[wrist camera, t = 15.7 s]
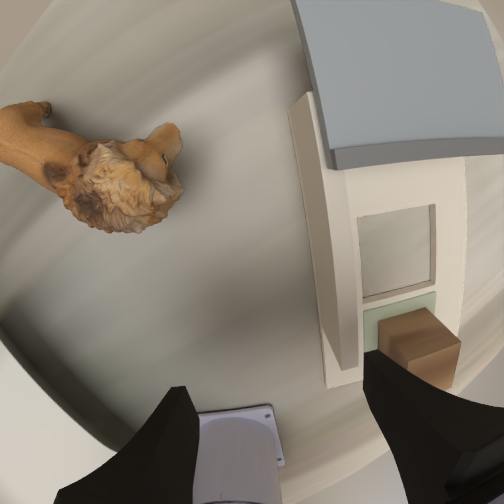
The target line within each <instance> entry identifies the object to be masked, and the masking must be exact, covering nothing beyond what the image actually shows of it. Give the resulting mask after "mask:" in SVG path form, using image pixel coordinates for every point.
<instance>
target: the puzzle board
mask: <svg viewBox="0 0 504 504" xmlns="http://www.w3.org/2000/svg"><path fill="white" fill-rule="evenodd" d="M287 113H288V118H289V123H290V128H291V133H292V138H293V144H294V149H295V155H296V160H297V166H298V172H299V178H300V184H301V190H302V196H303V202H304V208H305V215H306V221H307V228H308V235H309V242H310V249H311V257H312V264H313V272H314V280H315V288H316V296H317V305H318V314H319V323H320V333H321V343H322V354H323V365H324V378H325V385H326V387H327V389H330V388H334V387H338V386H342V385H346V384H350V383H354V382H357V381H361V380H363V353H365V352H368V351H372V350H376V349H377V348H378V321H379V320H383V319H386V318H390V317H393V316H397V315H400V314H404V313H407V312H410V311H414V310H417V309H420V308H424V307H426V308H427V309H428V310H429V311H430V312H431V313H432V314H433V315H434V316H435V317H436V318H437V319H439V320H440V321H441V322H442V323H443V324H444V325H445V326H446V327H447V328H448V329H449V330H450V331H451V332H452V333H453V334H454V335H455V336H456V337H457V335H458V329H459V323H460V316H461V308H462V300H463V290H464V280H465V266H466V246H467V199H466V179H465V165H464V157H451V158H439V159H429V160H419V161H409V162H400V163H391V164H383V165H375V166H367V167H360V168H353V169H346V170H339V171H337V170H332V169H328V168H327V162H326V156H325V150H324V144H323V138H322V133H321V128H320V122H319V117H318V112H317V107H316V102H315V97H314V92H306V93H305V94H304V95H303V96H302V97H301V98H300V99H299V100H298V101H296V102H295V103H294V104H293V105H292V106H291V107H290V108H289V109H288V110H287ZM424 205H429V206H430V234H431V264H430V281H427V282H423V283H420V284H416V285H413V286H409V287H405V288H401V289H398V290H394V291H390V292H386V293H382V294H378V295H374V296H370V297H366V298H363V297H362V278H361V262H360V249H359V238H358V227H357V217H362V216H368V215H373V214H379V213H384V212H390V211H396V210H401V209H407V208H413V207H419V206H424Z"/></svg>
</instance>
